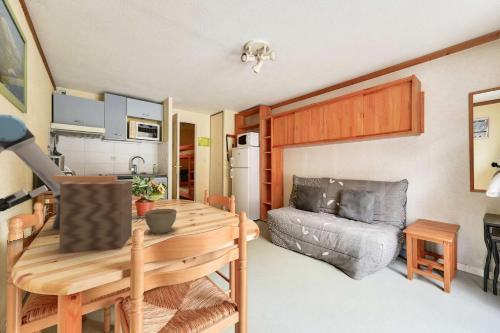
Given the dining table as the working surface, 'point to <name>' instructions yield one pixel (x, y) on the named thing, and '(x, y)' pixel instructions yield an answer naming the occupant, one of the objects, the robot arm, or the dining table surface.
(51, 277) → the dining table surface
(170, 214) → the planter bowl
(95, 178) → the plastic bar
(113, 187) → the walnut stand
